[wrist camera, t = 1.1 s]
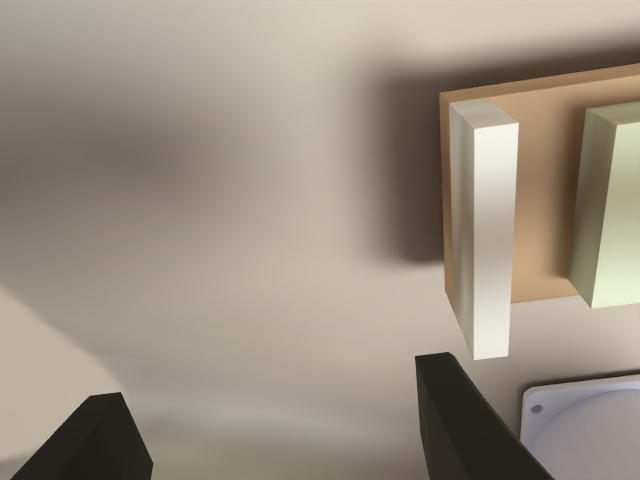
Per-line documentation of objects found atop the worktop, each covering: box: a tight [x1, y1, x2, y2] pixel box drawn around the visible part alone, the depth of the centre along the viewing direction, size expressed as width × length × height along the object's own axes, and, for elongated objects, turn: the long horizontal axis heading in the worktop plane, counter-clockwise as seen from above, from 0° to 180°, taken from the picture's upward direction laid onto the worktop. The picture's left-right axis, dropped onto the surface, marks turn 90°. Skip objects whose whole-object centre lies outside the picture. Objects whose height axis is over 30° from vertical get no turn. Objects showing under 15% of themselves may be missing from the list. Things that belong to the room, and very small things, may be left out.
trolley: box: [439, 63, 640, 360], centre depth 15 cm, size 7×9×5 cm
